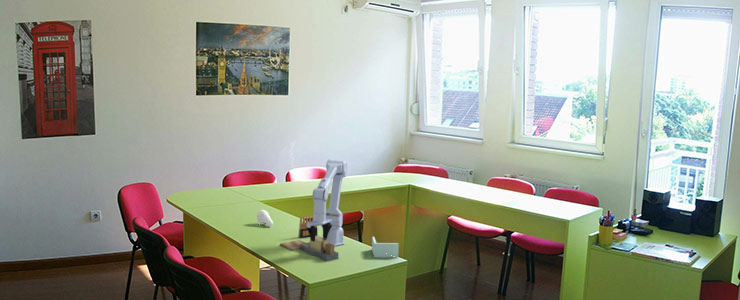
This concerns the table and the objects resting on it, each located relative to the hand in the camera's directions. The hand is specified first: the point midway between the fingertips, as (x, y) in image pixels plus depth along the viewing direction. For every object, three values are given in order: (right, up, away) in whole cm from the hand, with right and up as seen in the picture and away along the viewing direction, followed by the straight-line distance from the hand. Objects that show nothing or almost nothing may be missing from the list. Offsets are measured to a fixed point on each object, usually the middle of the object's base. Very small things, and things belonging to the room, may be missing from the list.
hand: (319, 239), depth 276 cm
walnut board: (-13, -5, +13) cm, 20 cm away
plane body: (0, -7, +1) cm, 7 cm away
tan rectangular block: (0, -4, +1) cm, 4 cm away
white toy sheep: (-35, 0, +51) cm, 62 cm away
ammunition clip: (-9, -4, +31) cm, 32 cm away
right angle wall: (+32, -9, +7) cm, 34 cm away
